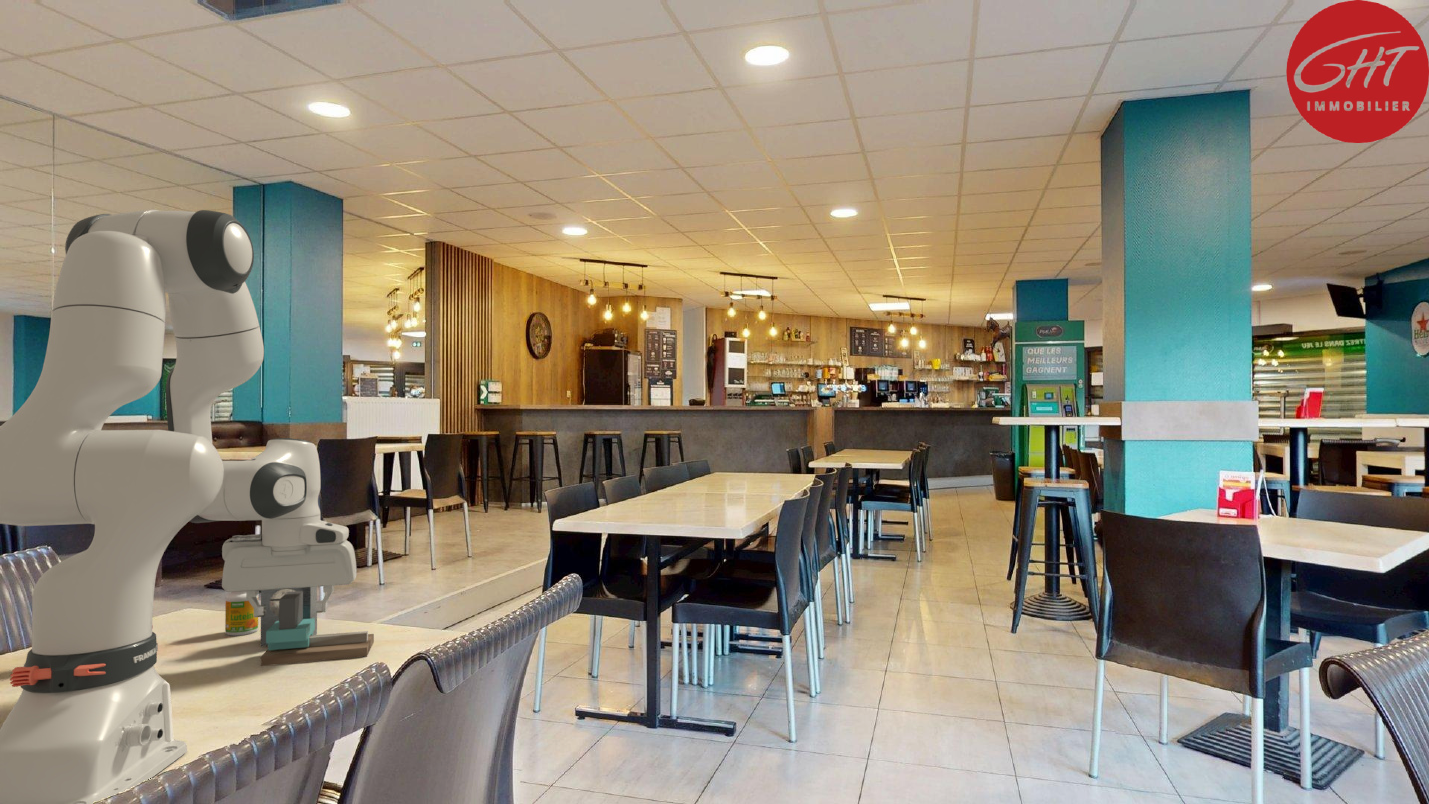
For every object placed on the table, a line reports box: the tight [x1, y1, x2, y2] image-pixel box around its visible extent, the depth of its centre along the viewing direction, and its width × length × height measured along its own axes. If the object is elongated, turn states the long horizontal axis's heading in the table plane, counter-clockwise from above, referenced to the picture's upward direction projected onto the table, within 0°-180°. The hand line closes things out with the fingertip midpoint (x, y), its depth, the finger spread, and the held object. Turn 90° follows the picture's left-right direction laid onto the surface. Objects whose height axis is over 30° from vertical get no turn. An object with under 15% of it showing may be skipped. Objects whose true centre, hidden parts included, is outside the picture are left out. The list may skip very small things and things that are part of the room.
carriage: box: [266, 591, 315, 650], centre depth 133 cm, size 7×6×8 cm
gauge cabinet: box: [260, 587, 318, 648], centre depth 142 cm, size 7×8×12 cm
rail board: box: [260, 630, 375, 667], centre depth 134 cm, size 9×16×3 cm, turn 107°
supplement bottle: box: [224, 591, 260, 637], centre depth 148 cm, size 5×5×10 cm
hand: (291, 614), depth 133 cm, fingers open, 8 cm apart
